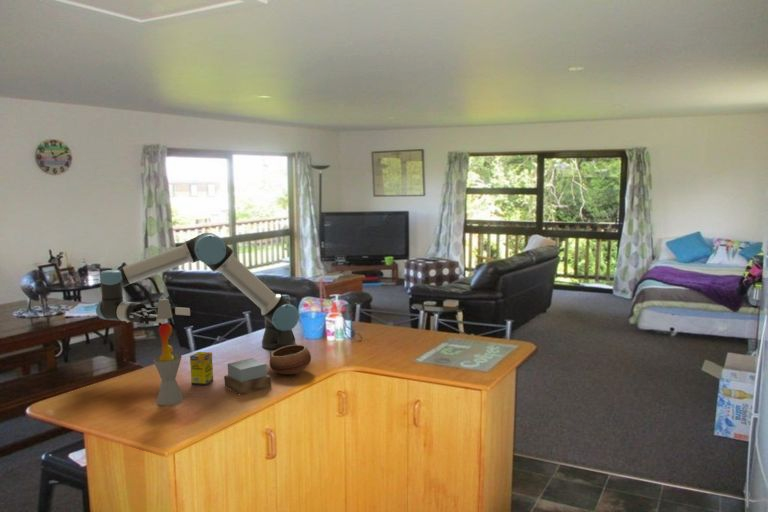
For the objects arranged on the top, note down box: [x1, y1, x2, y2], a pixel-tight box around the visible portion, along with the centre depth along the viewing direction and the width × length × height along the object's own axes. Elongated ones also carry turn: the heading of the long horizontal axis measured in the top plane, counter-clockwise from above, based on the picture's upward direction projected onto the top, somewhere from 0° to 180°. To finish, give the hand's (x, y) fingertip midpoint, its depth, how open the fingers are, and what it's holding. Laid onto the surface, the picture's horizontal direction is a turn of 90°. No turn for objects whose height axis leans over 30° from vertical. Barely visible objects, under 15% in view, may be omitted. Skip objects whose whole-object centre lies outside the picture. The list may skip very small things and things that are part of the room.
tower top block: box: [227, 357, 268, 382], centre depth 211 cm, size 10×10×4 cm
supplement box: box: [189, 351, 214, 386], centre depth 217 cm, size 6×6×11 cm
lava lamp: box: [152, 298, 184, 406], centre depth 198 cm, size 9×9×35 cm
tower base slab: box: [224, 374, 272, 396], centre depth 212 cm, size 12×12×4 cm
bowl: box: [269, 344, 312, 376], centre depth 227 cm, size 16×16×10 cm
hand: (177, 315), depth 218 cm, fingers open, 13 cm apart
